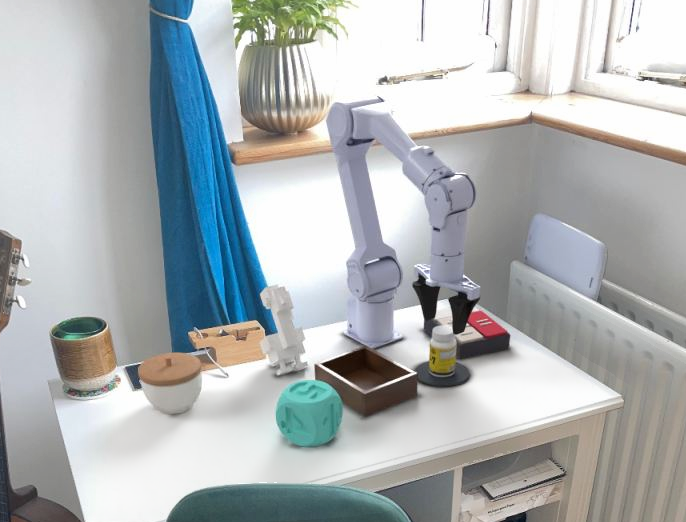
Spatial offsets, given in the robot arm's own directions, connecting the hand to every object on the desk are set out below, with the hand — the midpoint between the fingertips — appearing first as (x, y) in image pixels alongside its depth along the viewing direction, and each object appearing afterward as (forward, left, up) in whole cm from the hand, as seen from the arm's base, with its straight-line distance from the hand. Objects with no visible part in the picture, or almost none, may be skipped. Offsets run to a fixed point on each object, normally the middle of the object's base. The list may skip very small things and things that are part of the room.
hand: (443, 325), depth 142 cm
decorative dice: (+3, -31, -9) cm, 33 cm away
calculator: (-7, +13, -9) cm, 17 cm away
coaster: (+1, -1, -9) cm, 9 cm away
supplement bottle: (+1, -1, -9) cm, 9 cm away
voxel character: (-20, -21, -9) cm, 31 cm away
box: (-3, -15, -9) cm, 18 cm away
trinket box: (-20, -44, -9) cm, 49 cm away
